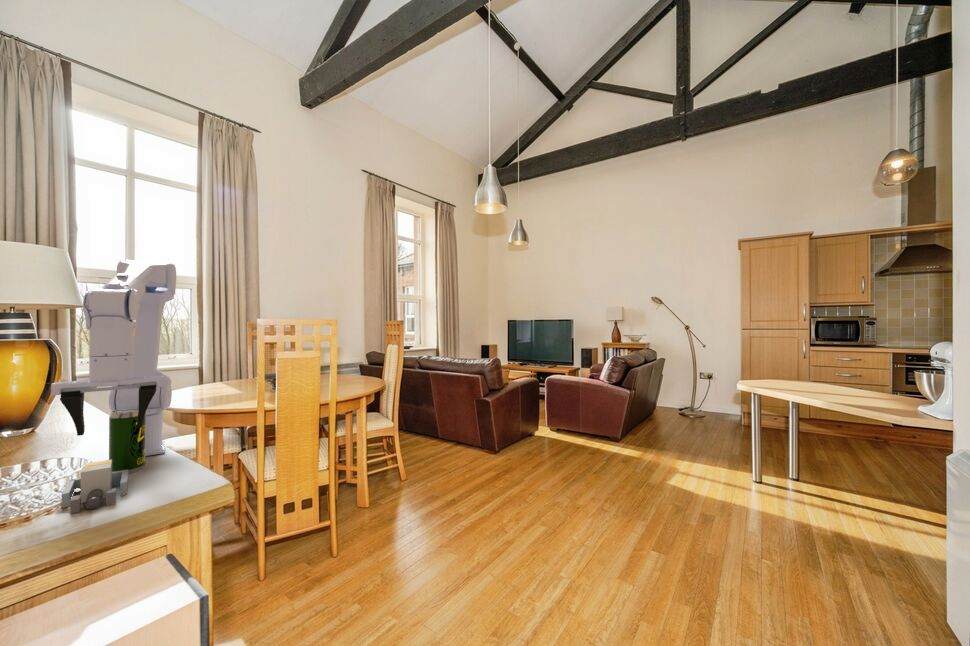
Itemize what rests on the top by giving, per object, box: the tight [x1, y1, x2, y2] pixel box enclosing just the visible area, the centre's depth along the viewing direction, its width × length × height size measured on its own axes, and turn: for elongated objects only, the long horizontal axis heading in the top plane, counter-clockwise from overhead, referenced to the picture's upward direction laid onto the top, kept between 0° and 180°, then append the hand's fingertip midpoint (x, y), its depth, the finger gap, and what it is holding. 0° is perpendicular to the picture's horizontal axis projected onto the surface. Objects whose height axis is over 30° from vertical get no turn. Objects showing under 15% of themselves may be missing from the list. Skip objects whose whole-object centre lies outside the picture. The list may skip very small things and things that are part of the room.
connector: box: [80, 459, 113, 510], centre depth 65 cm, size 10×4×5 cm, turn 41°
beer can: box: [108, 407, 146, 474], centre depth 77 cm, size 5×5×12 cm
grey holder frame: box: [61, 469, 129, 515], centre depth 66 cm, size 11×8×2 cm
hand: (111, 430), depth 71 cm, fingers open, 7 cm apart
